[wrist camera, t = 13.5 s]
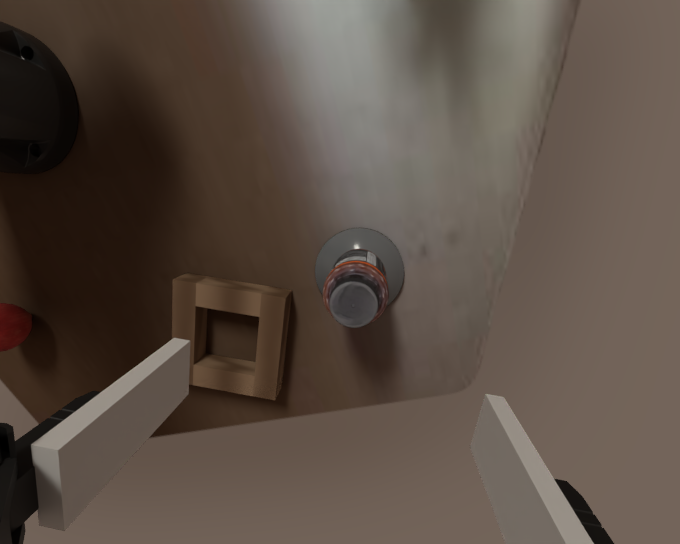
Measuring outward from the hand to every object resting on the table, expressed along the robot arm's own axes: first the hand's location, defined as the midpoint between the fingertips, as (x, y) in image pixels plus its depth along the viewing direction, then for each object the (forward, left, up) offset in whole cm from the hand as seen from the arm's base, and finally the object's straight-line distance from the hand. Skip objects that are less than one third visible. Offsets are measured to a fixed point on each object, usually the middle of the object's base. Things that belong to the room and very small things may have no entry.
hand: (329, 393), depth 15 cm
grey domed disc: (0, 0, -25) cm, 25 cm away
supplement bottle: (0, -1, -24) cm, 24 cm away
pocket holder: (-14, -10, -25) cm, 30 cm away
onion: (-42, -13, -25) cm, 51 cm away
